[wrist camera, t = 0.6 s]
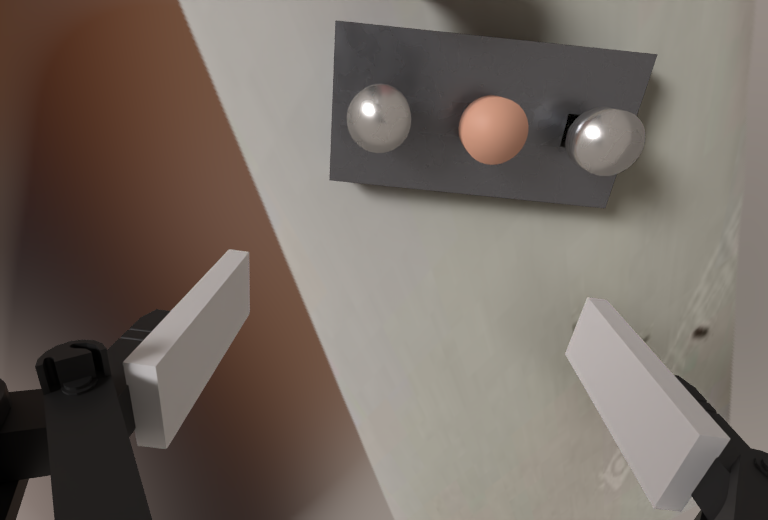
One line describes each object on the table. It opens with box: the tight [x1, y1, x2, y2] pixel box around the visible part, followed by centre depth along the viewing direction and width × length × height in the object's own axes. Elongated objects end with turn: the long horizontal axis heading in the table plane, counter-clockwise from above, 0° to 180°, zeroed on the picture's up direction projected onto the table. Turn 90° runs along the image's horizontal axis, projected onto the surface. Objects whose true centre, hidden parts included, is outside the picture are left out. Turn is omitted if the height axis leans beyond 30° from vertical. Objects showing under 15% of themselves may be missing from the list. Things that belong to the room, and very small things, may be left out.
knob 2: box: [458, 95, 528, 165], centre depth 31 cm, size 4×4×6 cm
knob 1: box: [347, 84, 411, 153], centre depth 31 cm, size 4×4×6 cm
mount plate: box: [330, 21, 658, 208], centre depth 35 cm, size 12×24×4 cm, turn 85°
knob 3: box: [565, 107, 645, 176], centre depth 31 cm, size 4×4×6 cm
